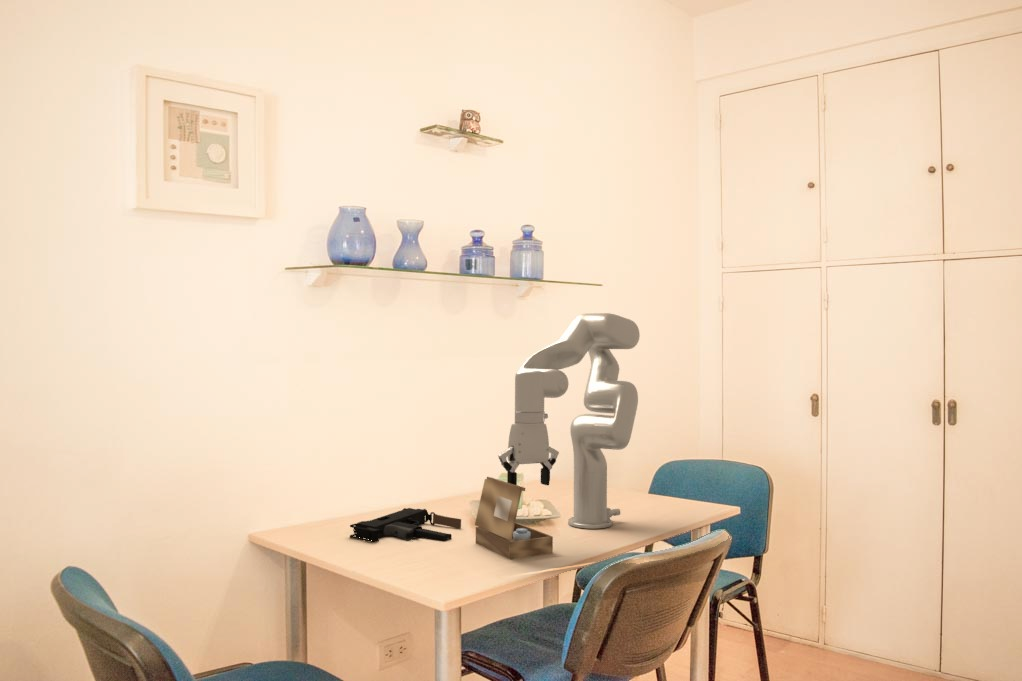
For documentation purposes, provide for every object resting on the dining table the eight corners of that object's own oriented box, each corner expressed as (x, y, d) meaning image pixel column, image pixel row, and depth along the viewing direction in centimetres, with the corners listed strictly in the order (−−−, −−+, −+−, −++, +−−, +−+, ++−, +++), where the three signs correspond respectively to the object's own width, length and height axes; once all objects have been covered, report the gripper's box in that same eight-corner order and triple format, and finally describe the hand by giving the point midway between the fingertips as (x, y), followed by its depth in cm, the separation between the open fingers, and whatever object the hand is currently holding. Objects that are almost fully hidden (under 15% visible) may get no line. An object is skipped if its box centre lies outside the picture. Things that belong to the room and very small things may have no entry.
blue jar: (524, 543, 202) (524, 526, 202) (533, 547, 198) (533, 530, 198) (509, 545, 199) (510, 528, 200) (518, 549, 196) (518, 532, 196)
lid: (491, 477, 205) (485, 476, 204) (526, 488, 189) (520, 487, 188) (480, 525, 203) (474, 524, 202) (515, 541, 187) (509, 540, 186)
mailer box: (516, 539, 208) (516, 522, 208) (552, 555, 193) (552, 536, 193) (475, 544, 202) (475, 527, 202) (510, 561, 187) (510, 542, 187)
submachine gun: (485, 516, 221) (413, 502, 233) (423, 540, 196) (346, 523, 208) (484, 532, 221) (413, 517, 234) (423, 558, 196) (346, 540, 208)
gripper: (550, 416, 207) (549, 481, 207) (492, 418, 199) (491, 486, 199) (565, 418, 201) (565, 485, 201) (507, 421, 192) (506, 491, 192)
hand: (528, 486), depth 200 cm, fingers open, 9 cm apart
